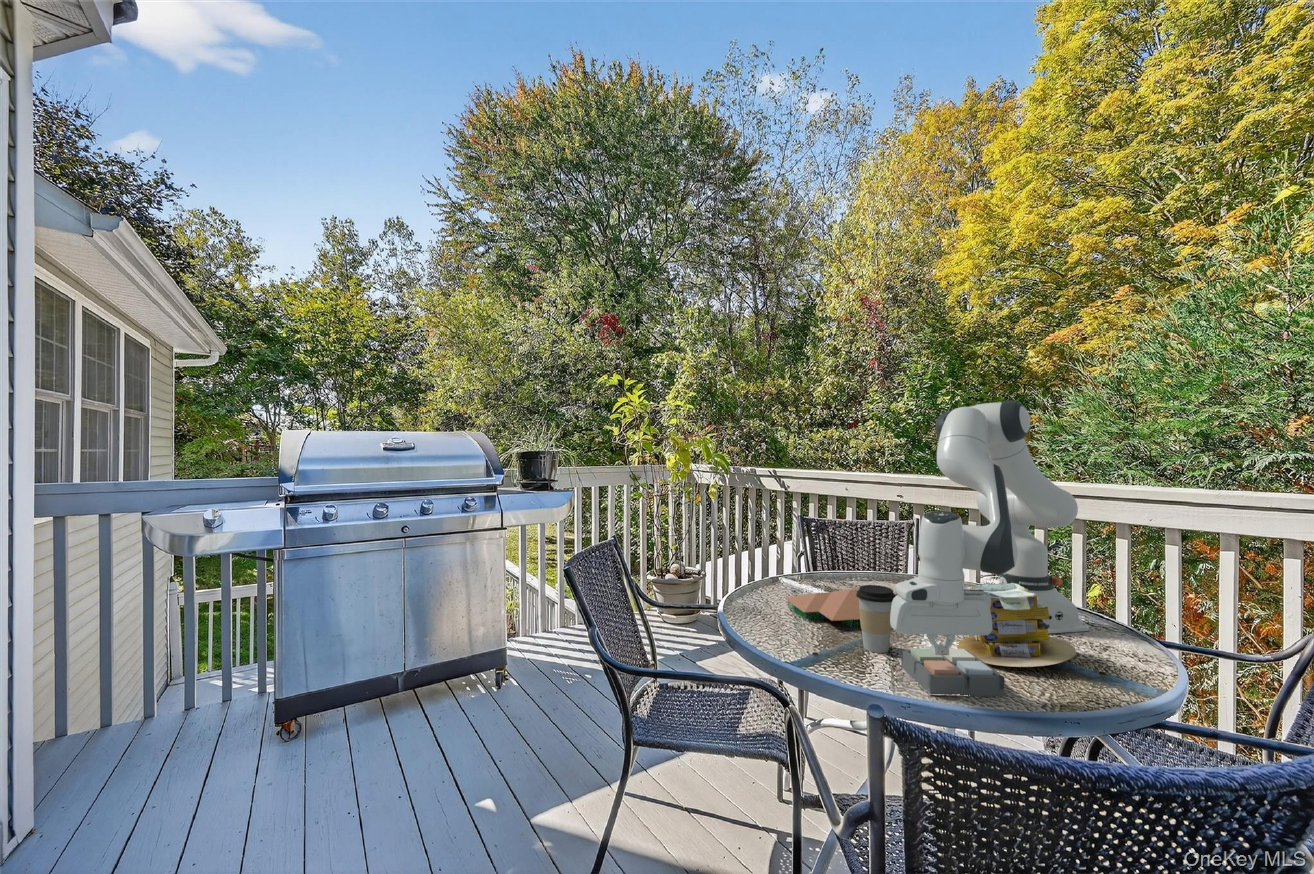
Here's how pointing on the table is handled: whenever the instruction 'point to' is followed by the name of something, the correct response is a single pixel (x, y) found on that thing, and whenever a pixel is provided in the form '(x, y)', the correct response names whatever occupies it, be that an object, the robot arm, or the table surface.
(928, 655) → the key sage
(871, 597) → the coffee cup
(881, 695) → the table surface
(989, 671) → the key bluegrey
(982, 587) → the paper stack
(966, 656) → the key cream
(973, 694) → the keypad
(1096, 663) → the table surface
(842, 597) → the house
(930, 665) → the key terracotta
